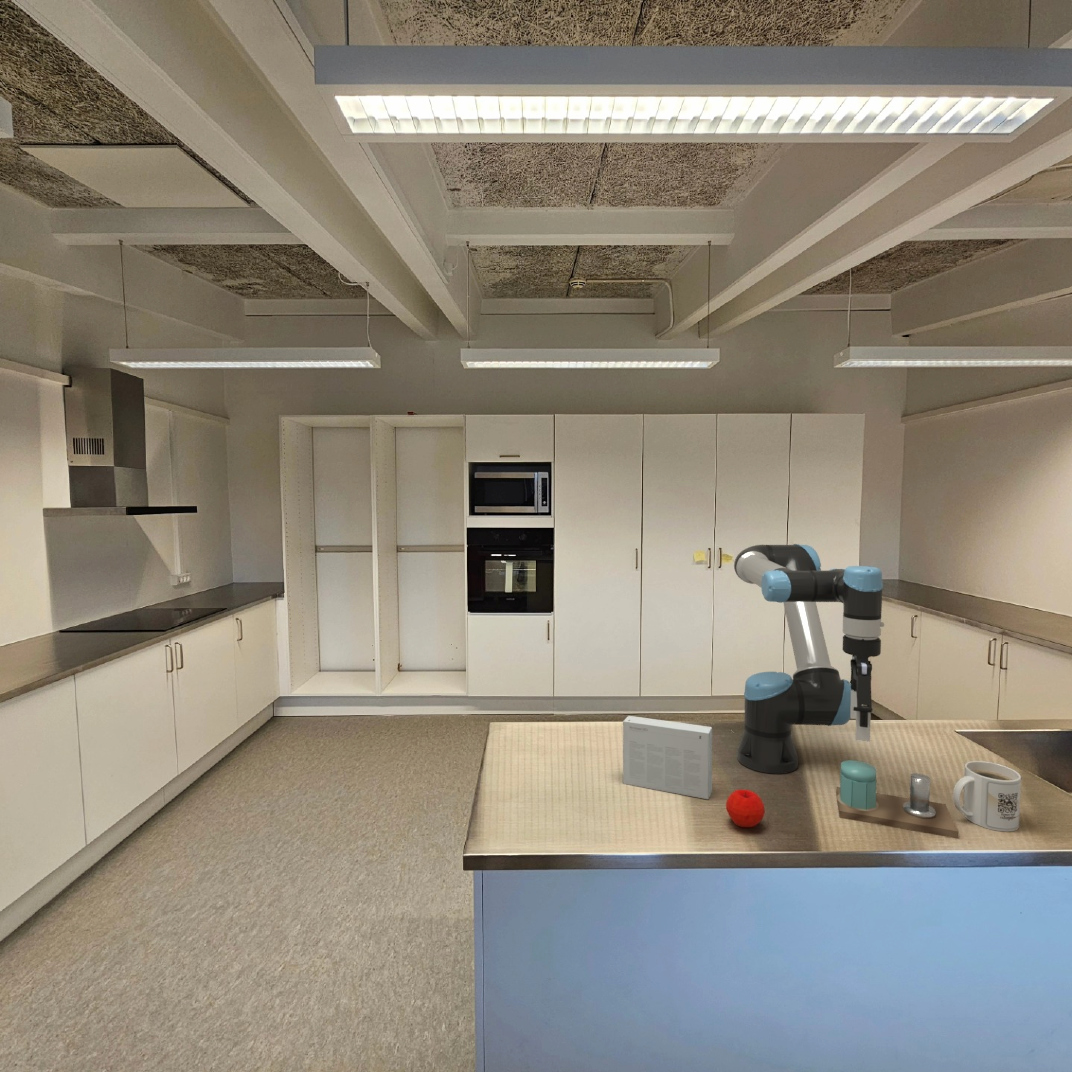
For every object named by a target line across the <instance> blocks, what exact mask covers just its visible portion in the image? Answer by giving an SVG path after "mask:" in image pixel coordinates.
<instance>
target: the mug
mask: <svg viewBox="0 0 1072 1072" xmlns="http://www.w3.org/2000/svg"><path fill="white" fill-rule="evenodd" d="M1021 788H1022V776H1021V774H1020V773H1019V772H1018V771H1016V770H1014V769H1013V768H1011V767H1008V766H1005V765H1003V764H999V763H997V762H996V763H995V762H991V761H984V760H974V761H973V760H972V761H967V762H966V763H965V764H964V776H962V777H961V778H960V779H959V780H958V781H957V782H956V783H955V786H954V788H953V792H952V801H953V805H954V807H955V808H956V809H957V811H958V812H960V813H962V814H963V816H964V818H966V819H967V820H969V821H970V822H971V823H973V824H975V825H977V826H979V827H982V828H985V829H988V830H991V831H998V832H1006V833H1007V832H1009V833H1010V832H1015V831H1017V830H1018V829H1019V827H1020V815H1021V812H1020V811H1021V810H1020V809H1021V794H1022V793H1021V790H1022V789H1021ZM962 791H963V803H962V804H963V805H962V804H961V794H962Z"/></svg>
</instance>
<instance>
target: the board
mask: <svg viewBox="0 0 1072 1072" xmlns="http://www.w3.org/2000/svg"><path fill="white" fill-rule="evenodd" d="M835 789H836V791H835V792H836V793H835V794H836V795H835V796H836V801H837V810H838V817H839V818H842V819H846V820H851V821H859V822H863V823H870V824H875V825H879V826H886V827H891V828H896V829H897V828H898V829H903V830H909V831H915V832H920V833H925V834H932V835H936V836H941V837H942V836H943V837H948V838H953V839H959V829H958V828H957V826H956V823H955V821H954V819H953V817H952V814H951V812H950V810H949V808H948V807H947V804H946V803H943V802H942V803H941V802H937V801H930V800H929V806H931V807H932V808H934V809H935V811H936V816H935V818H932V819H922V818H917V817H914V816H912V815H909V814H908V813H906V812H905V811H904V809H903V804H904V803H905V802H909V801H910V797H909V798H908V797H904V796H898V795H892V794H886V793H885V794H883V793H879V792H876V807H875V808H871V809H867V810H865V809H859V808H853V807H850V806H848V805H847V804H845V803H843V802H841V800H840V786H835Z"/></svg>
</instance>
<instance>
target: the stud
mask: <svg viewBox="0 0 1072 1072" xmlns="http://www.w3.org/2000/svg"><path fill="white" fill-rule="evenodd" d="M909 781H910V783H909V785H910V787H909V798H910V801H909V802H905V803H904V804H903V809H904V811H905V812H906V813H908V814H909V815H912V816H914V817H917V818H922V819H932V818H935V816H936V811H935V809H934V808H932V807H931V806H929V801H930V794H931V793H930V790H931V778H930V777H929V776H927V775H925V774H923V773H911V774H910V780H909Z"/></svg>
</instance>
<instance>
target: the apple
mask: <svg viewBox="0 0 1072 1072" xmlns="http://www.w3.org/2000/svg"><path fill="white" fill-rule="evenodd" d="M725 804H726V805H725V808H726V811H727V814H728V815H729V818H730V819H731V820H732V821H733V823H734V824H735V825H736V826H738V827H741V828H754V827H755V826H757V825H758V824H759V823H760V822H761V821H762V820H763V819H764V816H765V813H766V810H765V804H764V802H763V801H762V799H761V797H760V796H759V795H758V794H757V793H756V792H754V791H751V790H748V789H736V790H734V791H733V792H731V793H730V795H729V796H728V798H727V799H726V803H725Z"/></svg>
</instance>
